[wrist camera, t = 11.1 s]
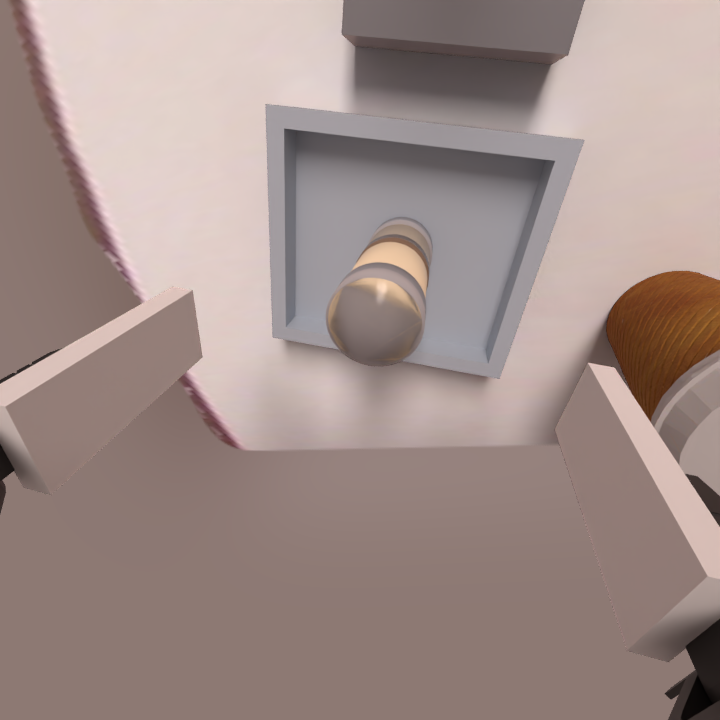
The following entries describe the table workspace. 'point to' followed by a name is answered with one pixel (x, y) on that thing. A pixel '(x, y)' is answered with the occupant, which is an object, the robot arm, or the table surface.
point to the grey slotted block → (466, 27)
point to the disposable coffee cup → (674, 363)
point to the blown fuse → (384, 296)
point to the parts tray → (422, 203)
